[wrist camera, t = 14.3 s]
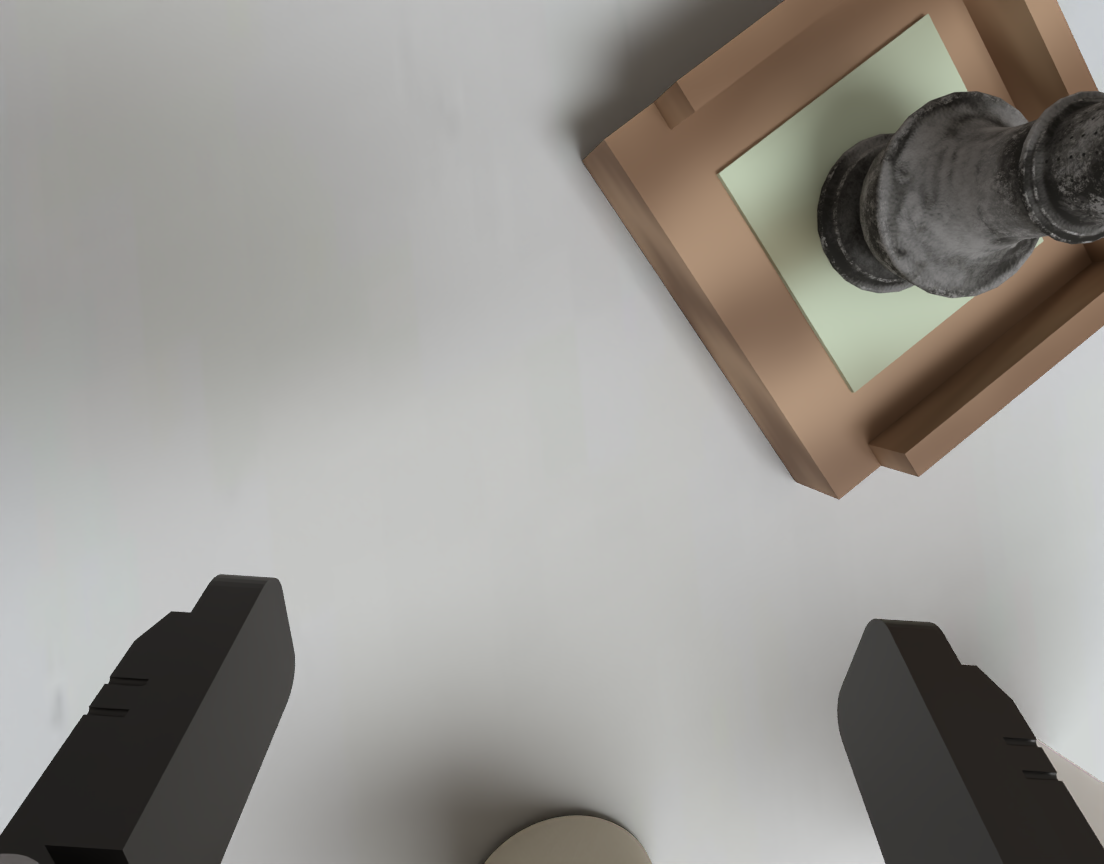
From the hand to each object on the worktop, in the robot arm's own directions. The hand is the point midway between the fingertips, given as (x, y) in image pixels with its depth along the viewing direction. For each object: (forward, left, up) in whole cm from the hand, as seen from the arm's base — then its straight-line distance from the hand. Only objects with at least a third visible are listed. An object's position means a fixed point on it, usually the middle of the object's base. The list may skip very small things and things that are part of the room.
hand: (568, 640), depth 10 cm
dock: (+2, +16, -17) cm, 23 cm away
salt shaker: (+2, +16, -14) cm, 21 cm away
